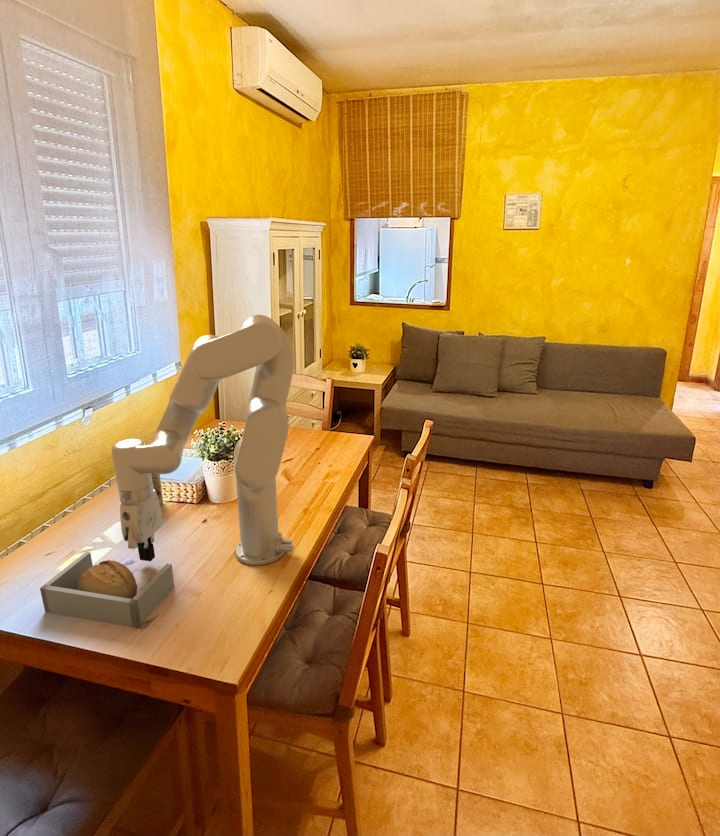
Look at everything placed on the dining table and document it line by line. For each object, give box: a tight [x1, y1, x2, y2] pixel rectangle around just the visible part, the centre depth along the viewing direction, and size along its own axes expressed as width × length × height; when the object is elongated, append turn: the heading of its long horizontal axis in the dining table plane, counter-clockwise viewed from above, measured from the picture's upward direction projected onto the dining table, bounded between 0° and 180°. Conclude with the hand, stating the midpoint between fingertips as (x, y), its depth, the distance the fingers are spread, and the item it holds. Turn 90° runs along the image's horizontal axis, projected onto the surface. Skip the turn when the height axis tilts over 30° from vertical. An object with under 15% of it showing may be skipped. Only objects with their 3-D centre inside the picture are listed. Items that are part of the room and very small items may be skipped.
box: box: [39, 551, 175, 628], centre depth 120 cm, size 22×14×6 cm, turn 77°
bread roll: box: [77, 559, 138, 599], centre depth 120 cm, size 10×15×8 cm, turn 63°
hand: (147, 558), depth 133 cm, fingers closed
